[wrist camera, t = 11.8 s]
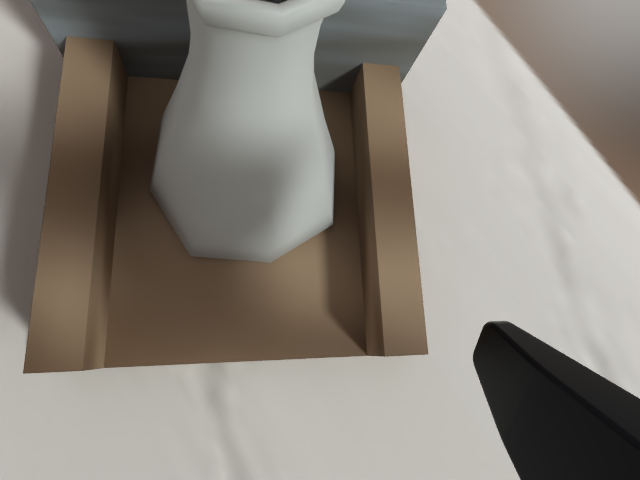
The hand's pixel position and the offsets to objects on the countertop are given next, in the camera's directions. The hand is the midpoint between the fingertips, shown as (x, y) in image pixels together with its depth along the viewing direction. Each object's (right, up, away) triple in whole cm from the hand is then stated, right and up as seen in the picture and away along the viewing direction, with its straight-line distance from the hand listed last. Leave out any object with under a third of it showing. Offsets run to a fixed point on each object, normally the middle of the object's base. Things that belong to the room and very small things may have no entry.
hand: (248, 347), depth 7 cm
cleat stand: (-2, +4, +10) cm, 11 cm away
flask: (-2, +4, +9) cm, 10 cm away
